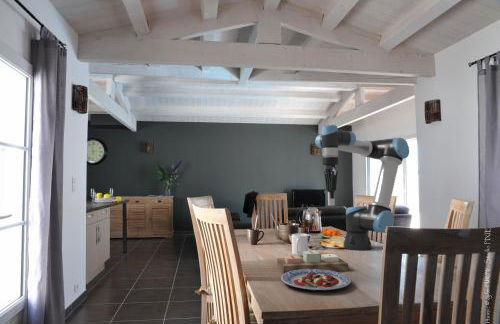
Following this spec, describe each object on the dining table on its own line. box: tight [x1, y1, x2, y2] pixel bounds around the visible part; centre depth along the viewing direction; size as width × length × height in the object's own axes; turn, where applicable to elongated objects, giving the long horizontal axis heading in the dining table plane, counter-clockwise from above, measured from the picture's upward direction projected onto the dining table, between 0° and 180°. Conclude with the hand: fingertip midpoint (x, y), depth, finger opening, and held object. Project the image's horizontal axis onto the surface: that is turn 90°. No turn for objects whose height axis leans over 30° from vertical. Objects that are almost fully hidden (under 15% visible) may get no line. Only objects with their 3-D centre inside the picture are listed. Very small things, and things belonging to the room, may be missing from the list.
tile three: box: [284, 254, 301, 264], centre depth 151 cm, size 6×6×4 cm
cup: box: [291, 233, 309, 257], centre depth 177 cm, size 8×12×10 cm
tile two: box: [302, 250, 321, 263], centre depth 152 cm, size 6×6×4 cm
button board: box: [276, 256, 349, 274], centre depth 152 cm, size 28×14×3 cm, turn 96°
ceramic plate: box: [280, 269, 352, 291], centre depth 130 cm, size 26×26×3 cm
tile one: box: [320, 253, 340, 262], centre depth 153 cm, size 6×6×4 cm
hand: (331, 205), depth 167 cm, fingers closed
